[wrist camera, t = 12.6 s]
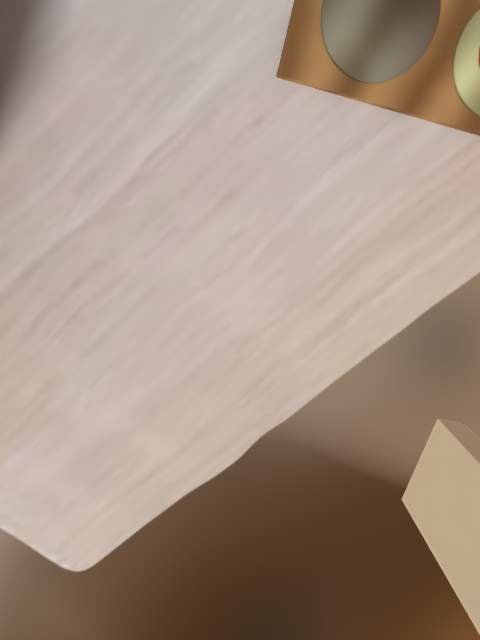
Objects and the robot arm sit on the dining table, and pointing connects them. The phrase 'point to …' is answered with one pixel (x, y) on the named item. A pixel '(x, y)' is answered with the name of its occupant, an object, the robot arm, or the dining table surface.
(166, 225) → the dining table surface
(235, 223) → the dining table surface
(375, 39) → the seat board
